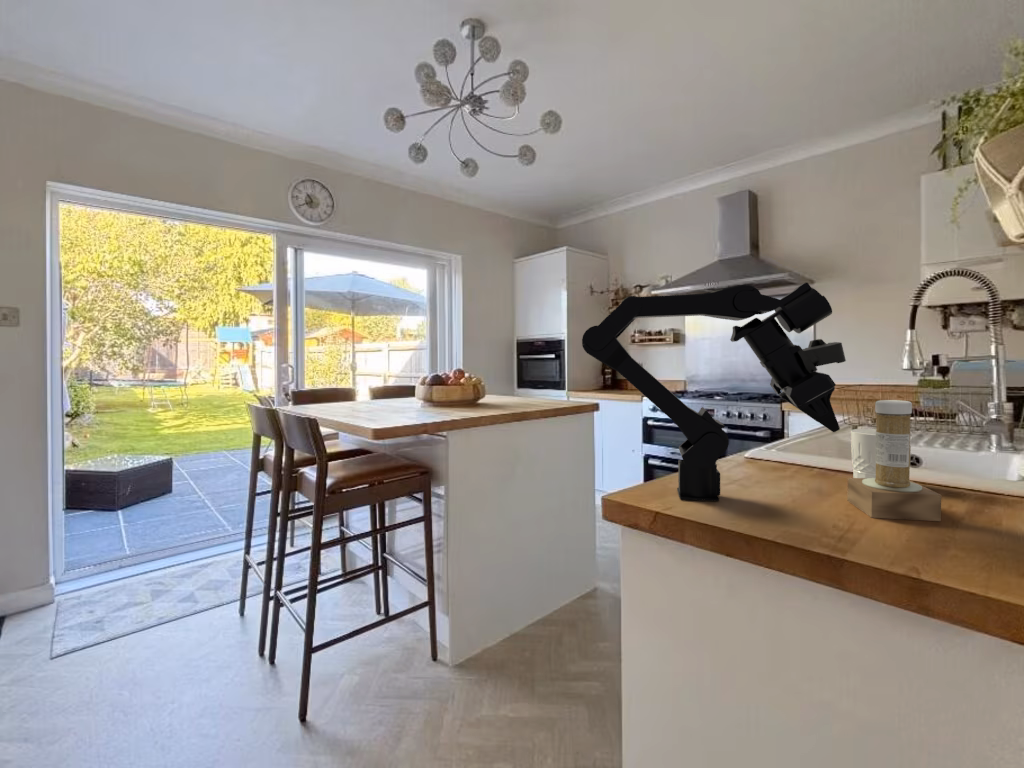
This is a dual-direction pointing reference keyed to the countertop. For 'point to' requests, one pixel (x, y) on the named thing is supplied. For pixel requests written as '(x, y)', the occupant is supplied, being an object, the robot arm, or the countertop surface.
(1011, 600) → the countertop surface
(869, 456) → the white cup
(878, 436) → the sprinkles bottle
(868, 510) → the riser
